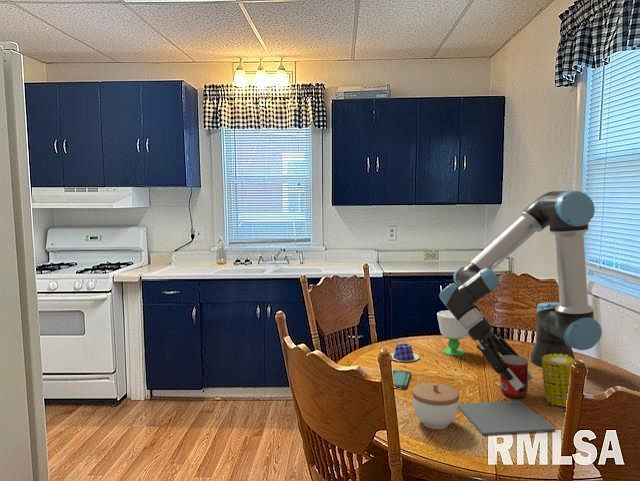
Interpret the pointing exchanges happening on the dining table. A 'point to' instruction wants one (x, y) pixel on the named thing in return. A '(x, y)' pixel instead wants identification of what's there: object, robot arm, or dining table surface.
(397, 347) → the pudding
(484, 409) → the rubber mat
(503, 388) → the canned food
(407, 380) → the smartphone
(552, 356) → the food
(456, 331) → the cup
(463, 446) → the dining table surface
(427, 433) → the dining table surface
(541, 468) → the dining table surface
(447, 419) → the lidded bowl
